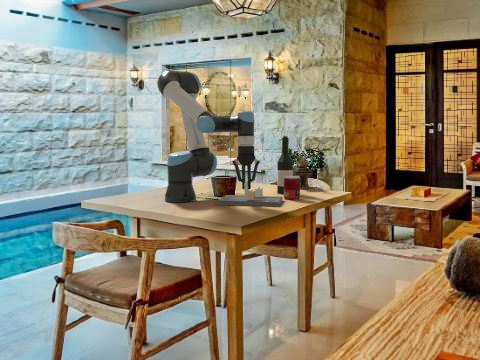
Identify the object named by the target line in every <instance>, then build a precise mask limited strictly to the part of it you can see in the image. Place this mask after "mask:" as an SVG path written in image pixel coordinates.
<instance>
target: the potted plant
mask: <svg viewBox="0 0 480 360" xmlns="http://www.w3.org/2000/svg"><path fill="white" fill-rule="evenodd" d="M293 155H294V156H295V157H297V158H298V160H297V161H296V165H293V176H299V177H300V190H309V189H311V188H310V185H309V182H308V181H309V177H310V176H311V175H312V173H313V171H312V170H311V169H310V168H309V167H307V166H308V163H307V162H308V161H307V159H306V158H307V156H308V154H307V155H306V156H305V157H303V156H302V155H300V156H299V155H296V152H293Z"/></svg>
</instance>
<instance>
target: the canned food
mask: <svg viewBox="0 0 480 360" xmlns="http://www.w3.org/2000/svg"><path fill="white" fill-rule="evenodd" d="M300 198H301V189H300V177H299V176H284V194H283V199H284V200H287V201H297V200H300Z"/></svg>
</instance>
